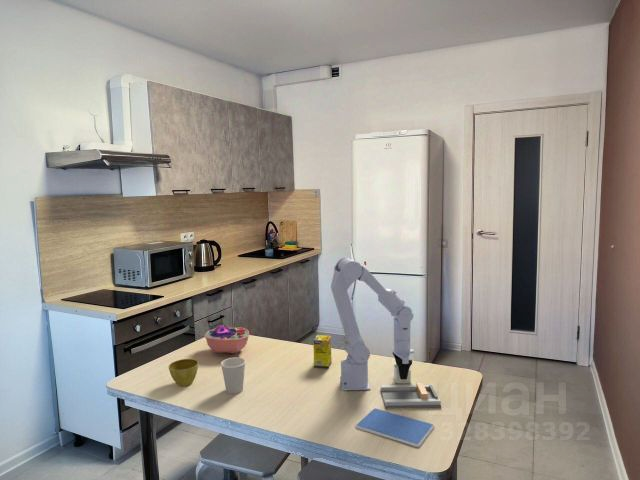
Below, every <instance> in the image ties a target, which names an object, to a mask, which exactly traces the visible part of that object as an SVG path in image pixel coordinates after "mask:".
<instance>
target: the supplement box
mask: <svg viewBox="0 0 640 480" xmlns="http://www.w3.org/2000/svg"><path fill="white" fill-rule="evenodd" d="M312 343H313V368H317V369H319V368H320V369H330V366H331V364H332V359H333V358H332V336H331V335H324V334H323V335H321V334H320V335H319V334H317V335H316V336H315V337H314V339H313V340H312Z"/></svg>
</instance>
